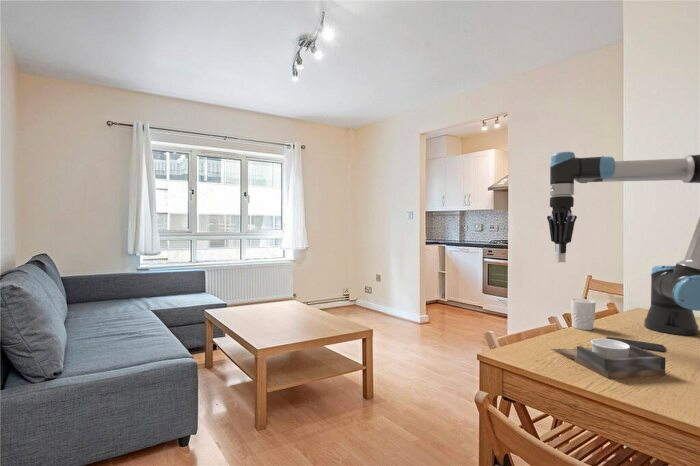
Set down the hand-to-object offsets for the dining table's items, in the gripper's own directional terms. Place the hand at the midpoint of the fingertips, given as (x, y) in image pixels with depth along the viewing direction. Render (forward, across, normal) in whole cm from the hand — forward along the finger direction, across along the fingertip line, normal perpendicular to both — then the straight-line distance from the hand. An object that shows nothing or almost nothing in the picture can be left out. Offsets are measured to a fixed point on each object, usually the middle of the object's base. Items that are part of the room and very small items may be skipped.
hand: (560, 262), depth 139 cm
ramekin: (+23, +34, -9) cm, 42 cm away
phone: (+25, +19, +12) cm, 34 cm away
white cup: (+25, -1, +10) cm, 27 cm away
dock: (+25, +31, -9) cm, 41 cm away
